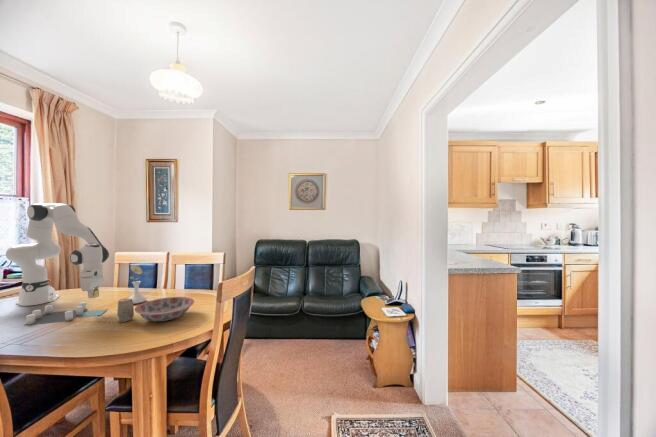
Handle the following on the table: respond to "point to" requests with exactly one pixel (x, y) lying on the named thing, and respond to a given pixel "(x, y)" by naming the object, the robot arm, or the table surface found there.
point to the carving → (125, 310)
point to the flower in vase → (136, 286)
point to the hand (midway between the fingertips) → (93, 294)
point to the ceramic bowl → (164, 308)
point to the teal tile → (93, 313)
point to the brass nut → (96, 293)
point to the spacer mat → (54, 315)
